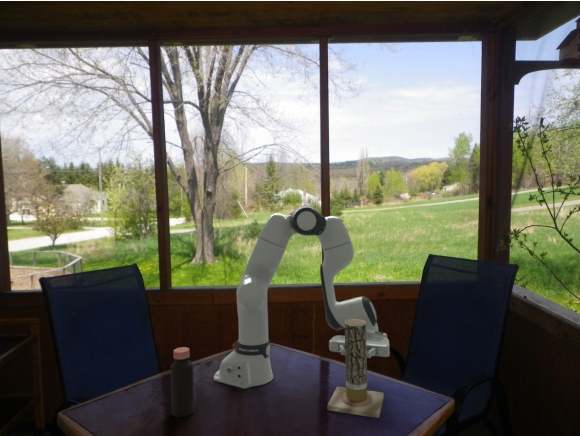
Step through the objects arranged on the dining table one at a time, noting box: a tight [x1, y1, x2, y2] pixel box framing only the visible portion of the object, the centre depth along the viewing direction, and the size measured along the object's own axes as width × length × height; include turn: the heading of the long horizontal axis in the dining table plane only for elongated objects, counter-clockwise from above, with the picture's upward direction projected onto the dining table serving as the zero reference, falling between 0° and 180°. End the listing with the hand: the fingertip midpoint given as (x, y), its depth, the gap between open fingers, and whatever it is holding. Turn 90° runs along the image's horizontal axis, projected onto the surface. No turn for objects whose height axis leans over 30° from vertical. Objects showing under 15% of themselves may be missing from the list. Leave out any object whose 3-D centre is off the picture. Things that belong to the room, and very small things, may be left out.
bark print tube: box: [344, 319, 368, 402], centre depth 129 cm, size 7×7×25 cm
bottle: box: [170, 346, 195, 419], centre depth 125 cm, size 7×7×20 cm
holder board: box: [326, 386, 385, 419], centre depth 129 cm, size 16×14×2 cm
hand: (355, 354), depth 128 cm, fingers closed on bark print tube, 6 cm apart
